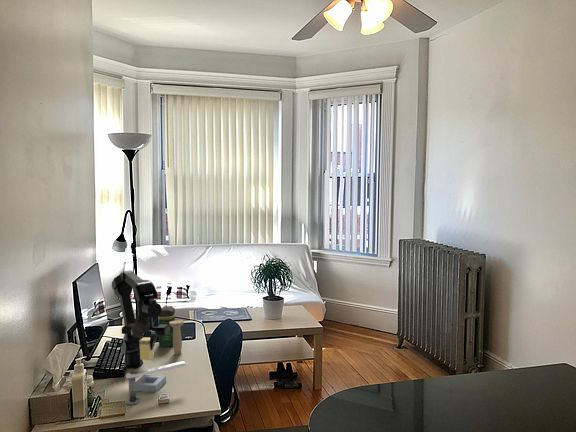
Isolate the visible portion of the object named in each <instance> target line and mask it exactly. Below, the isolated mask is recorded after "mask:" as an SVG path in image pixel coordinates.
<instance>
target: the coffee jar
mask: <svg viewBox="0 0 576 432" xmlns="http://www.w3.org/2000/svg"><path fill="white" fill-rule="evenodd" d="M161 308H162V311H161V313H160V315H159V316H157V319H158V320H157V321H158V322H157V325H158V326H159V325H160V324H165V325H169V322H171V321H176V309H175V307H173V305H167V306H166V305H165V306H163V307H161ZM169 327H170V331H169V332H168V333H167V334H165V335H158V346H159V347H163V348H168V347H173V327H171V326H170V325H169Z"/></svg>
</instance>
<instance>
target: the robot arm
mask: <svg viewBox="0 0 576 432" xmlns="http://www.w3.org/2000/svg"><path fill="white" fill-rule="evenodd" d="M111 288H112V290H113V292H114V295H115V296H116V297H117V298H118V299H119V304H120V308H121V314H122V318H123V323H124V325H123V326H122V327H121V334H122V335H123V336H122V337H123V338H122V339H123V342H122V344H121V346H120V351H121V353H122V354H123V355H124V365H126V368H127V369H128V368H129V369H138V368H139V367H141V366H142V365H143V364H144V360H140V344H139V340H141V339H142V338H144V335H145V333H149V332H151V333H150V334H149V337H150V348H151V350H153V349H154V347H155V344H156V343H157V342H156V341H157V338H159V335H165V334H167V333H168V332H169V331H170V327H169V325H165V324H160V325H159V326H155V322H153V318H158V316H159V315H160V313H161V311H162V308H163V307H162V306H161V304H160V303H158V302H157V299H159V298H158V295H159V294H158V292H157V289H156V287H155V285H154V283H153V282H152V281H151V280H149V279H142V277H139V276H138V275H137V274H136V273H135V272H134V270H125V271H124V270H123V271H121V272H120V273H119V275H117V276H115V277H114V278H113V280H112V282H111ZM132 292H133V294H134V296H135V300H136V301H137V302H136V303H137V316H135V312H134V307H133V303H132V297H131V294H132Z"/></svg>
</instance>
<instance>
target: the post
mask: <svg viewBox="0 0 576 432" xmlns="http://www.w3.org/2000/svg"><path fill="white" fill-rule="evenodd" d="M127 380H128V381H127V382H128V395H129V396H128V398H127V399H126V400H125V405H127V406H135V405H137V404H140V402H141V399H140V398H139V397H137V391H136V378H133V379H127Z"/></svg>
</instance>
